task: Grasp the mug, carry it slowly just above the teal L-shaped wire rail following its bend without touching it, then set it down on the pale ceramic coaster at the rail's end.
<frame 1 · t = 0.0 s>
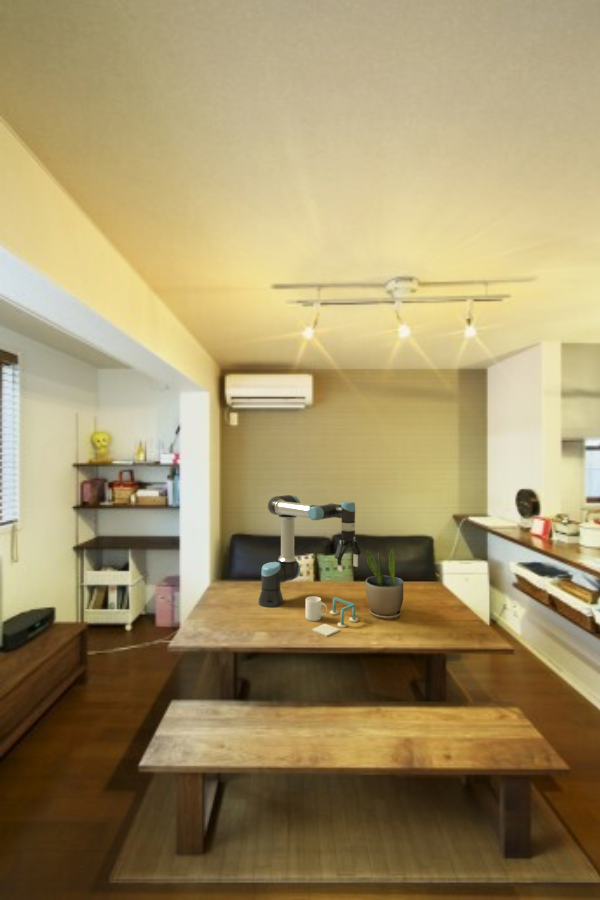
hand: (348, 568, 224), 28 cm above the table, fingers open, 13 cm apart
coaster: (325, 630, 209), on the table
potted plant: (384, 615, 231), on the table
mug: (316, 619, 224), on the table
wire course: (338, 619, 224), on the table
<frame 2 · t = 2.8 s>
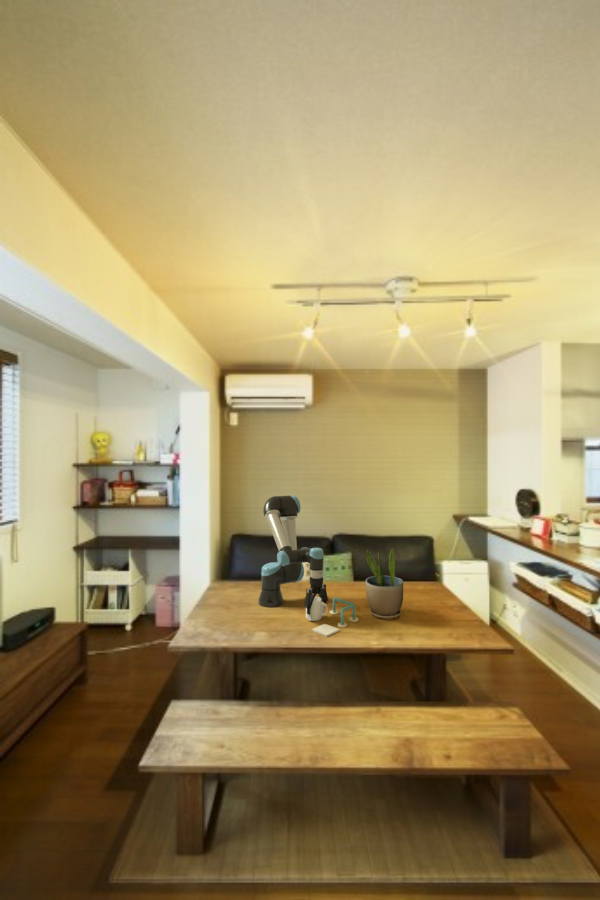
hand: (316, 617, 224), 1 cm above the table, fingers open, 10 cm apart
mug: (316, 618, 225), on the table, touching gripper
everything else where it was.
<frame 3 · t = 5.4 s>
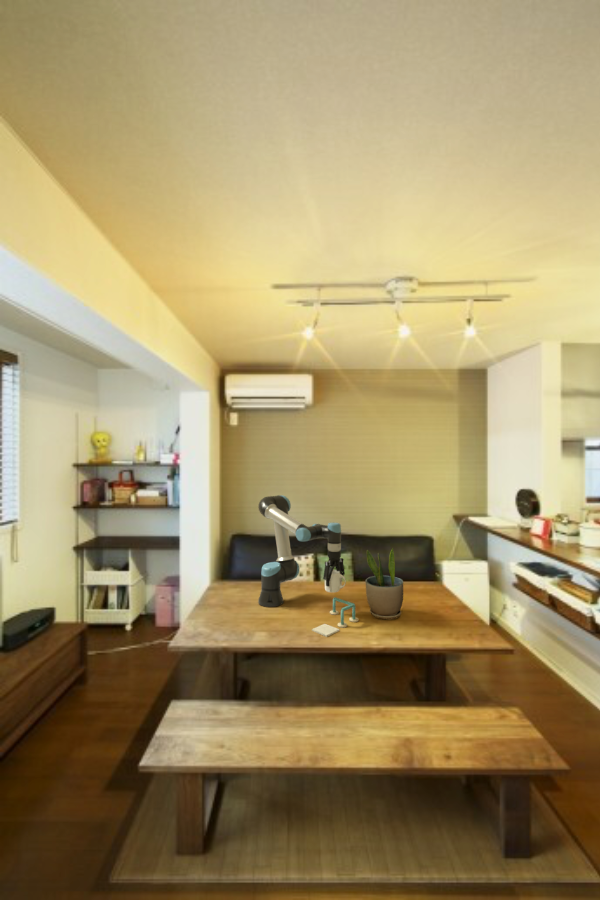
hand: (334, 589, 232), 13 cm above the table, fingers closed on mug, 9 cm apart
mug: (335, 590, 233), point 13 cm above the table, touching gripper
everything else where it was.
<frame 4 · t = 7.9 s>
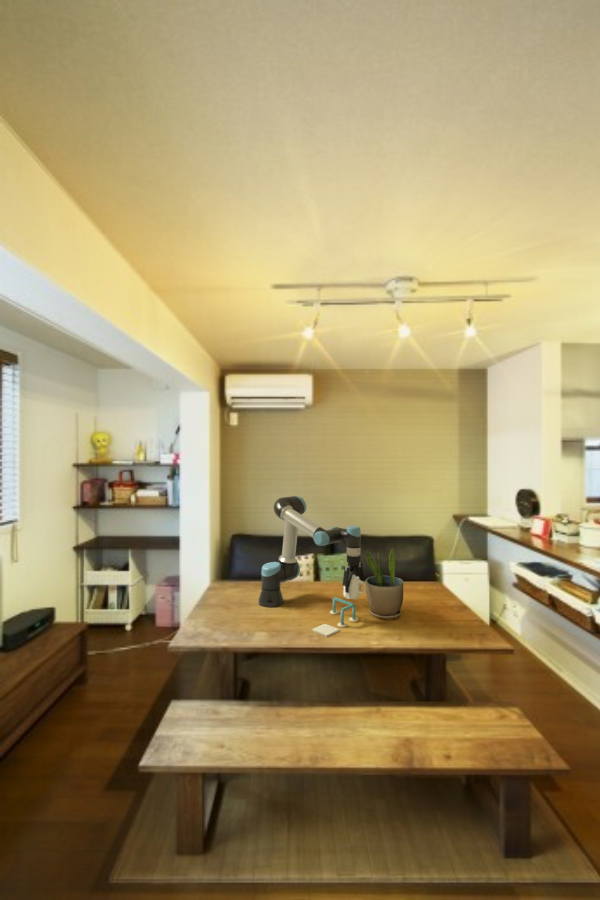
hand: (353, 596, 222), 13 cm above the table, fingers closed on mug, 9 cm apart
mug: (354, 597, 223), point 13 cm above the table, touching gripper
everything else where it was.
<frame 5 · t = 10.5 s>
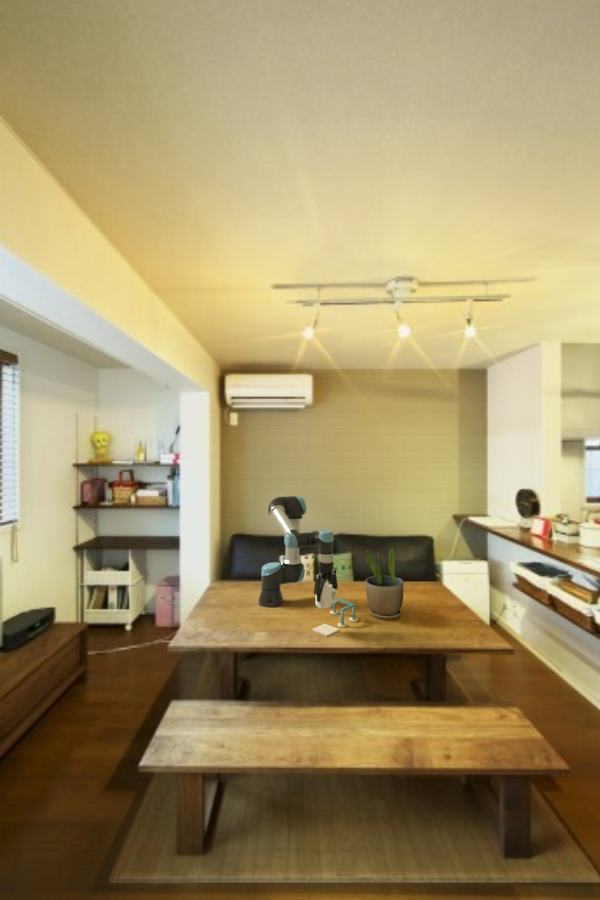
hand: (325, 605, 209), 13 cm above the table, fingers closed on mug, 9 cm apart
mug: (327, 606, 210), point 12 cm above the table, touching gripper
everything else where it was.
when the fingers open (3 cm above the table, at t = 12.7 s): mug drops 1 cm, resting on coaster.
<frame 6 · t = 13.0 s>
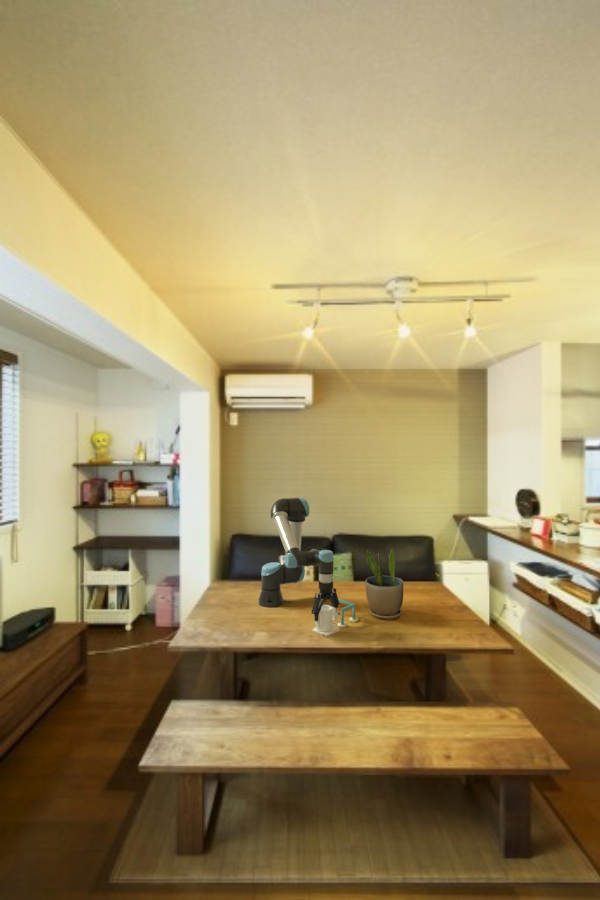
hand: (325, 623, 209), 4 cm above the table, fingers open, 12 cm apart
mug: (326, 629, 209), point 1 cm above the table, touching coaster
everything else where it was.
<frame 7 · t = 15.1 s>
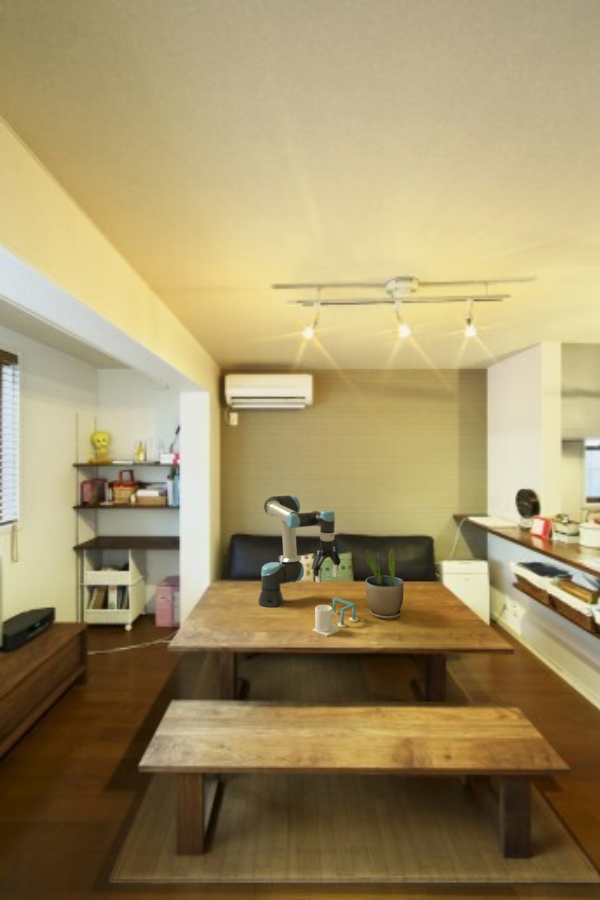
hand: (326, 579, 218), 24 cm above the table, fingers open, 13 cm apart
nothing on the table moved.
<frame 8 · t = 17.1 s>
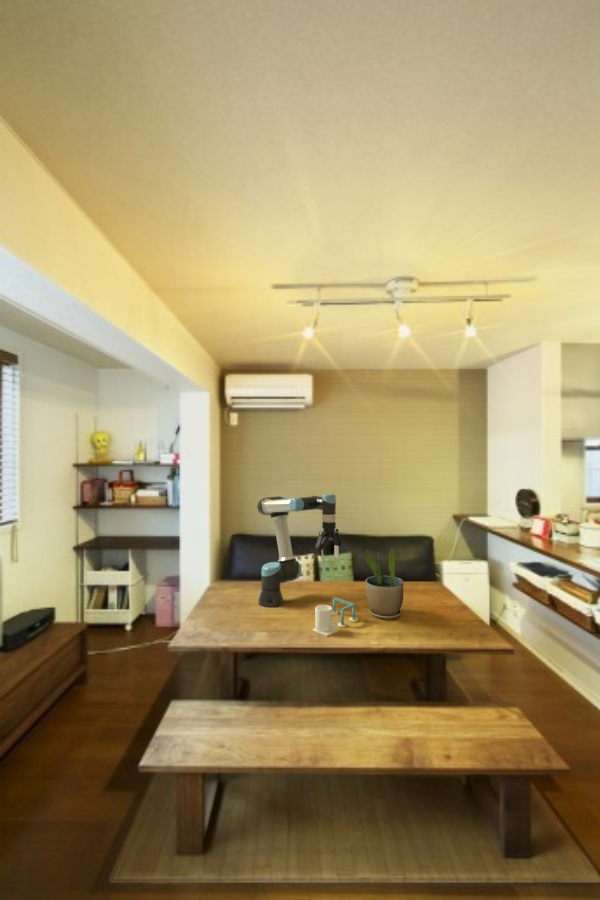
hand: (328, 559, 229), 32 cm above the table, fingers open, 13 cm apart
nothing on the table moved.
at the end: mug inside the target area (0.7 cm from its centre), point 0.6 cm above the table; mug tilted 0°; mug touching coaster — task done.
